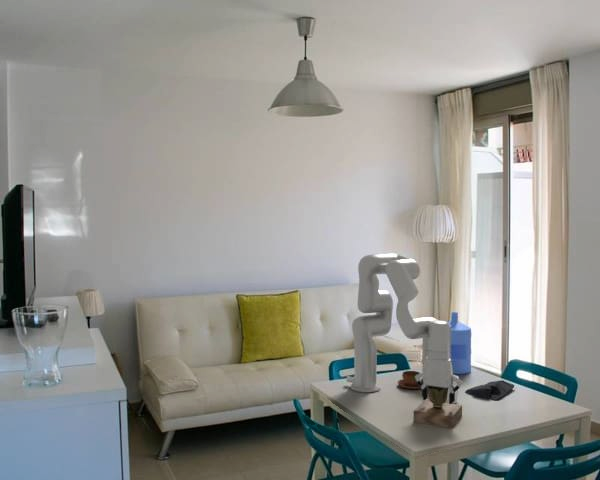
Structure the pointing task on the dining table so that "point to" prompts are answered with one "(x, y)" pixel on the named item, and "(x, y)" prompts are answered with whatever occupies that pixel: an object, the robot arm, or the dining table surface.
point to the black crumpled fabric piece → (491, 390)
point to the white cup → (455, 392)
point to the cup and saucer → (409, 380)
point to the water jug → (460, 346)
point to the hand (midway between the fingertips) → (438, 401)
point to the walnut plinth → (438, 414)
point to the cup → (437, 396)
